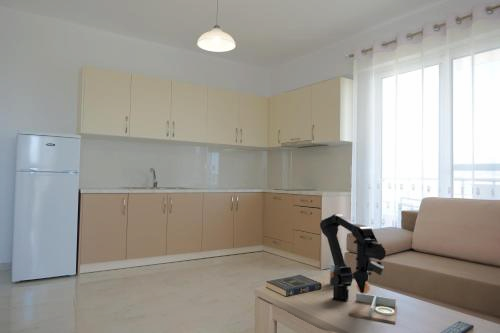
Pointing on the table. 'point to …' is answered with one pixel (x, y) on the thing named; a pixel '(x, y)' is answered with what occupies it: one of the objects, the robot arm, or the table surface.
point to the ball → (366, 289)
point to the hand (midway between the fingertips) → (363, 290)
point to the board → (374, 308)
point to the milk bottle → (332, 267)
